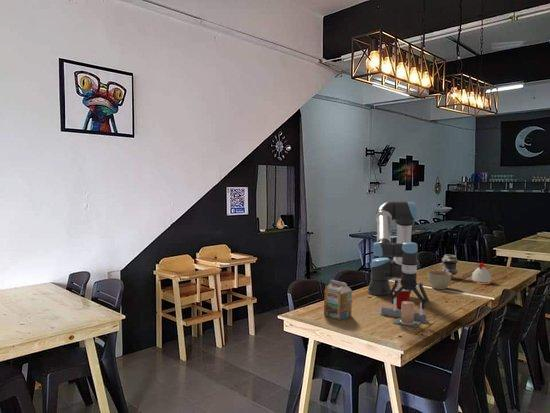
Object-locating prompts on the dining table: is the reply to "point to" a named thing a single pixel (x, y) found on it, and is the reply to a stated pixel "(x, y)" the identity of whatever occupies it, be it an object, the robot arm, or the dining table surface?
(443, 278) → the planter bowl
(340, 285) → the milk carton
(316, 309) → the dining table surface
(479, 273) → the kitchen timer
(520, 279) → the dining table surface
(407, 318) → the beige small cylinder
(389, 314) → the divider wall
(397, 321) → the resting mat
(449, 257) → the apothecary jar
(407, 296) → the plastic cup
